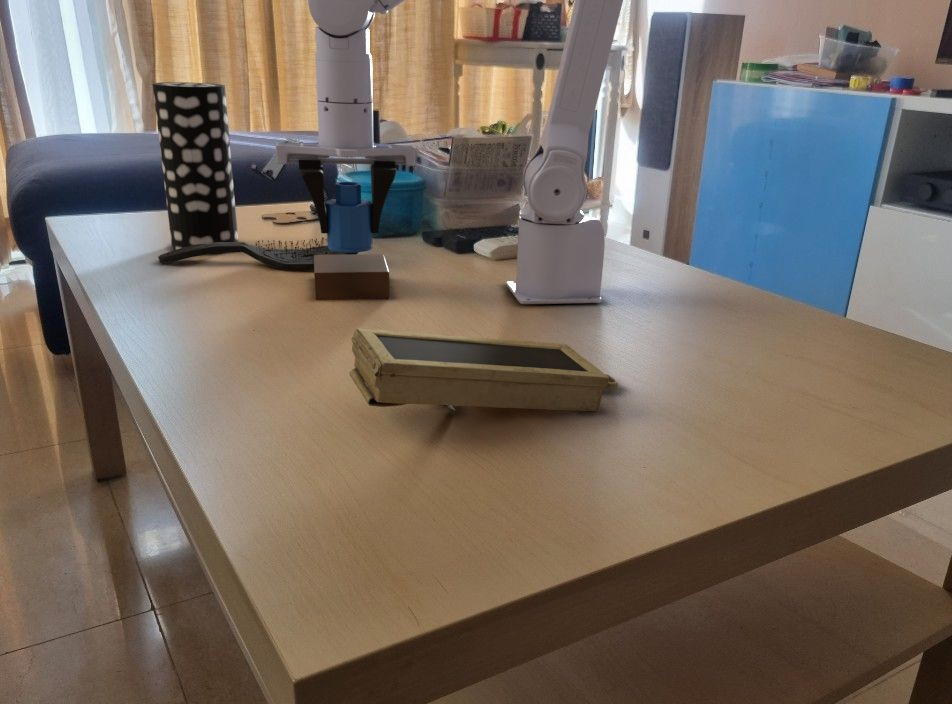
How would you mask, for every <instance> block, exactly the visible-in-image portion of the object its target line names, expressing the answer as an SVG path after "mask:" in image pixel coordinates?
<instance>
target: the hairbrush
mask: <svg viewBox="0 0 952 704" xmlns="http://www.w3.org/2000/svg"><path fill="white" fill-rule="evenodd" d="M317 240H318V238H315V241H314V239H313V238H310V239H309V241H308V242H307V243H306V244H305V242H306V241H305V239H303V241H302V240H300V243H301V246H303V247H299V241H297V243H295V247H294V243H293V240H289V243H290V248H288V245H287V240H285V242H284V246H283V242H282V241H281V240H278V241H277V242H278V247H279V248H276V247H275V246H273V245H275V239H273V243H272V242H271V243H269V242H270V241H269V240H267V244H265V247H263V246H262V245H260V240H257V242H255V245H253V244H250V243H247V242H244V241H242V242H241V241H238V242H214V243H205V244H195V245H191V246H187V247H184V248H180V249H176V250H173V249H172V250H170V251H168V252H165V253H161V254H160V255H158V261H159V264H169V263H175V262H178V261H182V260H187V259H191V258H195V257H201V256H206V255H211V254H212V253H213V254H227V253H228V254H229V253H230V254H231V253H232V254H233V253H242V254H245V255H247V256H249V257H251V258H252V259H254V260H256V261H259V262H260V263H263V264H265V265H267V266H270V267H272V268H274V269H280V270H284V271H291V272H304V271H305V272H306V271H307V272H310V271H314V255H350V254H360V252H357V253H344V252H336V251H332V250H330V249H328V243H326V244H325V245H324V242H327V238H325V237H321V241H319V240H318V241H317ZM311 241H312V242H311ZM261 242H262V243H264V240H263V239H262V241H261ZM312 243H314V244H315V246H312ZM282 246H283V248H282ZM308 246H309V247H308ZM270 247H271V248H270ZM213 254H212V255H213Z"/></svg>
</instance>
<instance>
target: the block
mask: <svg viewBox="0 0 952 704" xmlns="http://www.w3.org/2000/svg"><path fill="white" fill-rule="evenodd" d="M313 275H314V277H313V278H314V295H315V300H317V301H318V300H363V299H364V300H365V299H370V300H371V299H390V297H391V296H390V270H389V267H388V264H387V261H386V258H385V255H384V253H371V254H370V253H368V254H367V253H366V254H365V253H363V254H361V253H357V254H350V255H314V270H313Z"/></svg>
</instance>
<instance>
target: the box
mask: <svg viewBox="0 0 952 704" xmlns="http://www.w3.org/2000/svg"><path fill="white" fill-rule="evenodd" d="M350 340H351V343H352V345H351V352H352V353H353V355H354V365H353V366H354V368H352V369H351V370H350V371H349V376H350V378H351V380H352V381H353V383H354V384H355V386H356V388H358V390H359V392H360V393H361V395H362V397H363V398H364V400H365V402H366V403H367V404H368V406H369V407H377V408H387V407H399V406H404V405H423V406H424V405H425V406H440V407H443V408H446V409H448V410H451V411H453V412H455V411H456V409H455V407H479V408H500V409H501V408H503V409H529V410H530V409H531V410H532V409H533V410H554V411H555V410H556V411H579V412H580V411H583V412H598V411H599V409H600V405H601V402H602V399H603V395H604V391H605V389H609V390H613V391H616V390H617V388H618V384H619V382H618V381H617V380H616V378H614V377H612V376H611V375H609V374H607V373H605V372H604V371H602V370H601V369H599V368H598V367H597V366H596V365H594V364H593V363H592V362H590V361H589V360H587V359H586V358H584V356H582V355H581V354H580V353H578V352H577V351H576V350H574V349H573V348H572V347H570V346H569V344H566V343H555V342H541V341H527V340H513V339H510V340H509V339H498V338H489V337H488V338H487V337H474V336H463V335H449V334H439V333H425V332H410V331H396V330H384V329H369V328H359V327H357V328H356V329H355V330H353V335H352V337H351V338H350Z"/></svg>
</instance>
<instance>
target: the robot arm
mask: <svg viewBox="0 0 952 704" xmlns="http://www.w3.org/2000/svg"><path fill="white" fill-rule="evenodd" d="M405 1H406V0H307V5H308V6H307V7H308V10H309V13H310V16H311V18H312V20H313V21H314V23H315V24H316V25H317V26H314V32H315V33H314V42H315V52H314V65H315V67H314V68H315V88H316V89H315V90H316V109H317V129H318V131H317V133H318V142H317V141H316V142H315V141H314V142H313V141H311V142H276V143H275V155H276V156H275V157H276V164H277V165H288V164H298V172H299V174H300V177H301V179H302V181H303V182H304V184H305V187H306V188H307V191H308V194H309V196H310V197H311V200H312V203H313V205H314V208H315V212H316V215H317V218H318V222H319V227H320V234H327V233H328V230H327V218H326V201H325V186H324V185H325V184H324V167H323V164H324V165H370V184H371V203H372V234H379V232H380V231H379V230H380V222H381V216H382V213H383V209H384V205H385V202H386V200H387V196H388V194H389V191H390V189H391V187H392V185H393V183H394V180H395V179H396V175H397V167H396V166H400V165H401V166H406V167H416V147H415V146H414V145H412V144H411V145H409V144H408V145H407V144H388V143H375V142H374V103H373V60H372V59H373V58H372V57H373V56H372V54H371V52H370V51H371V50H370V48H371V47H370V27H371V26H372V23H373V21H374V18H375V14H376V13H379V14H381V15H386V14H387V13H388V12H390V11H392V10H394V9H395V8H396V7H397V6H399V5H401V4H402V3H404V2H405ZM623 3H624V0H574V4H573V8H572V12H571V17H570V21H569V25H568V28H567V32H566V33H567V34H566V37H565V40H564V41H565V42H564V46H563V50H562V55H561V58H560V61H559V62H560V63H559V67H558V71H557V75H556V79H555V84H554V88H553V92H552V96H551V100H550V105H549V109H548V113H547V117H546V121H545V124H544V127H543V130H542V132H541V135H540V139H539V142H538V146H537V149H536V150H535V153H534V154H533V155H532V156H531V158H530V159H529V160H528V162H527V163H526V164H525V166H524V169H523V174H522V185H523V188H524V191H525V193H526V197H527V202H526V205H525V206H524V207H522V208H521V209H520V210H519V212H518V233H517V250H516V251H517V253H516V272H515V273H516V274H515V280H510V281H509V280H507V281H506V284H505V285H506V287H507V288H508V289H509V291H510V292H511V294H512V295H513V296H514V297H515V299H516V300H517V302H518V303H519V304H521V305H551V304H553V305H555V304H557V305H558V304H559V305H560V304H591V303H592V304H595V303H596V304H599V303H600V304H601V303H602V301H603V298H602V297H601V292H602V291H601V290H602V281H603V270H604V269H603V268H604V258H605V257H604V256H605V246H606V245H605V232H604V227H603V224H602V222H601V220H600V219H598V218H595V217H585V213H584V211H583V210H581V209H582V208H583V206H584V203H585V201H586V198H587V193H588V192H587V191H588V188H587V182H586V177H585V169H586V168H585V166H586V163H587V159H588V152H589V136H590V131H591V127H592V123H593V120H594V115H595V111H596V108H597V103H598V100H599V96H600V91H601V89H602V85H603V80H604V77H605V72H606V68H607V66H608V61H609V57H610V53H611V50H612V46H613V42H614V38H615V35H616V30H617V26H618V24H619V23H618V22H619V19H620V16H621V15H620V14H621V11H622V7H623ZM335 157H336V158H335ZM363 157H364V158H363Z"/></svg>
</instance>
